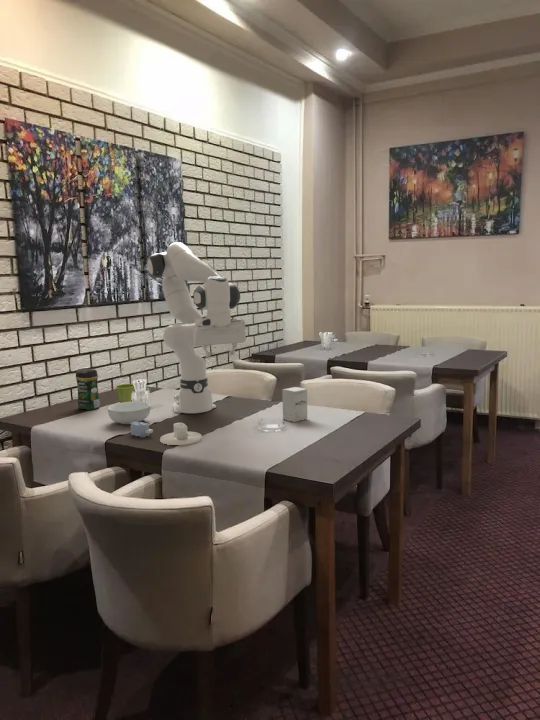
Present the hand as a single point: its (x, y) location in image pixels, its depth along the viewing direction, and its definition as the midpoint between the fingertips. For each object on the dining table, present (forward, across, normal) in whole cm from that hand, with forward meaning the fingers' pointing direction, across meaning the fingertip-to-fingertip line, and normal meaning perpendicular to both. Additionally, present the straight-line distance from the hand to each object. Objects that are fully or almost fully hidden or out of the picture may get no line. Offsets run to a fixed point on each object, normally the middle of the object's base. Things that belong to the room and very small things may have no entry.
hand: (220, 355), depth 221 cm
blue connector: (+29, +31, -5) cm, 43 cm away
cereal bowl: (+30, +31, -26) cm, 50 cm away
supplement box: (+28, -30, +2) cm, 42 cm away
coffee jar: (+30, +44, -62) cm, 82 cm away
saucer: (+28, +19, +8) cm, 35 cm away
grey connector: (+27, +19, +8) cm, 34 cm away
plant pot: (+30, +27, -62) cm, 75 cm away
